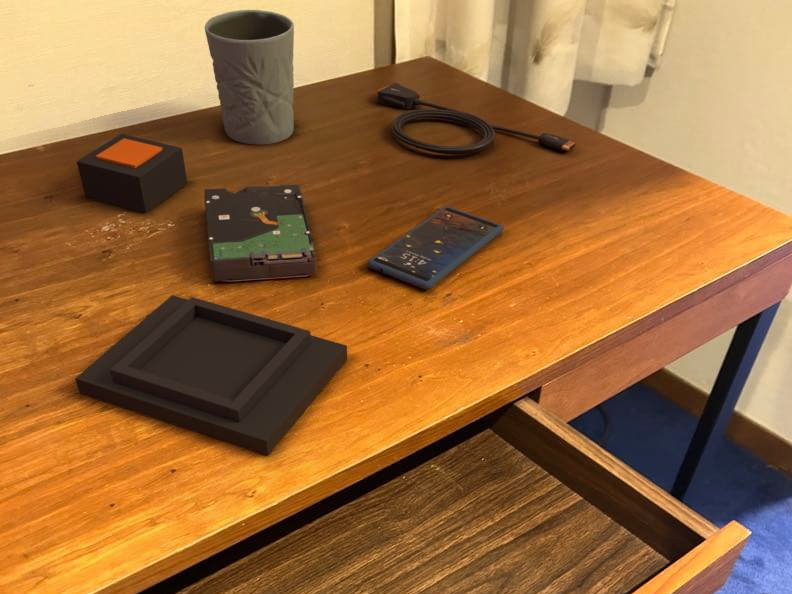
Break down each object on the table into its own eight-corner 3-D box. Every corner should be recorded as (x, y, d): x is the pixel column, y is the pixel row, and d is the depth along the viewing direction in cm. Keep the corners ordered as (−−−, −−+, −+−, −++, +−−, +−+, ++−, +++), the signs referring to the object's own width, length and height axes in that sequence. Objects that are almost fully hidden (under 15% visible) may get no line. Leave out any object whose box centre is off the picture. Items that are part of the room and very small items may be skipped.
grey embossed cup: (301, 115, 111) (295, 10, 102) (297, 149, 104) (291, 40, 95) (222, 113, 110) (209, 8, 101) (213, 147, 103) (199, 38, 94)
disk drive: (205, 214, 93) (213, 285, 83) (201, 188, 91) (209, 258, 81) (300, 207, 94) (319, 276, 84) (299, 182, 92) (318, 250, 82)
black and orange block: (85, 197, 94) (75, 158, 91) (128, 168, 99) (121, 130, 96) (146, 213, 92) (138, 174, 89) (187, 183, 97) (181, 144, 94)
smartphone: (505, 225, 91) (428, 285, 82) (504, 232, 92) (428, 293, 83) (445, 204, 94) (364, 260, 85) (444, 211, 94) (364, 268, 86)
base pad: (79, 392, 71) (70, 366, 69) (174, 308, 80) (169, 283, 78) (268, 455, 67) (265, 429, 65) (347, 359, 76) (346, 333, 74)
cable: (520, 189, 99) (521, 176, 98) (329, 124, 109) (328, 112, 108) (574, 149, 106) (577, 137, 105) (391, 92, 117) (391, 81, 116)
